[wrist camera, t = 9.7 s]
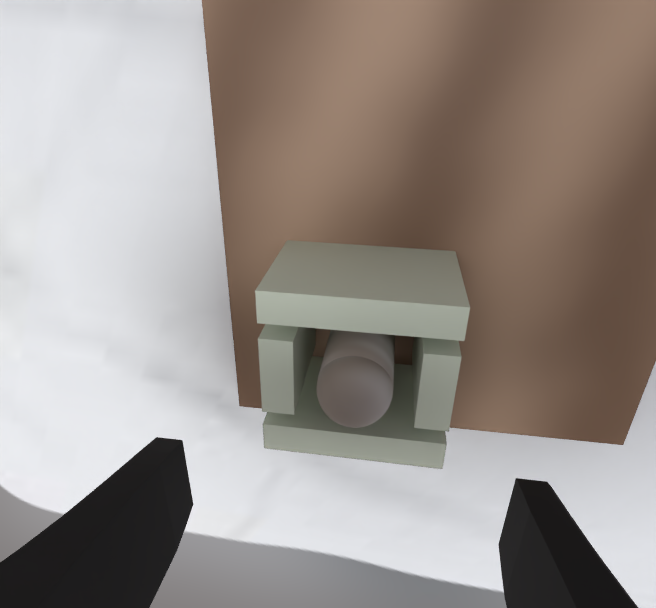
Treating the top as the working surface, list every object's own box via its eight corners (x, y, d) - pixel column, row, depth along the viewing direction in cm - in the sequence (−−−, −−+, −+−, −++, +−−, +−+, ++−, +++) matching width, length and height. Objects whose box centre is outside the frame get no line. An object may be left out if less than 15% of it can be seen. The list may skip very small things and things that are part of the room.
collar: (455, 251, 16) (470, 307, 12) (434, 389, 18) (442, 468, 15) (287, 240, 16) (255, 290, 13) (290, 375, 19) (264, 448, 15)
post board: (860, -251, 10) (1347, -579, 5) (612, 427, 19) (694, 571, 14) (196, -214, 12) (32, -426, 7) (246, 391, 21) (192, 507, 16)
